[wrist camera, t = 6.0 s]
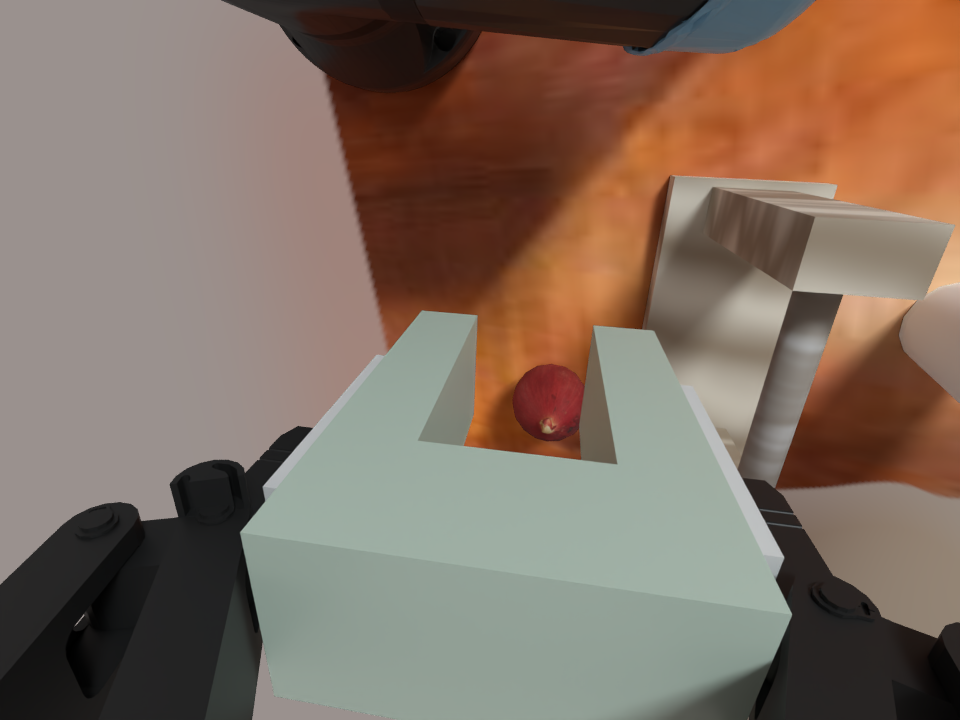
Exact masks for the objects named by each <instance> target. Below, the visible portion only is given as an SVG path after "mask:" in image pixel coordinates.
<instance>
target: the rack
mask: <svg viewBox="0 0 960 720" xmlns="http://www.w3.org/2000/svg"><path fill="white" fill-rule="evenodd" d="M836 188H837V185H835V184H828V183H813V182H793V181H773V180H753V179H733V178H713V177H693V176H673V175H671V176H670V181H669V186H668V192H667V197H666V203H665V208H664V213H663V219H662V224H661V230H660V235H659V240H658V246H657V251H656V256H655V262H654V267H653V273H652V278H651V283H650V289H649V294H648V300H647V305H646V310H645V316H644V321H643V327H642V330H652V331H654V332H655V334H656V336H657V338H658V340H659V342H660V344H661V346H662V348H663V350H664V352H665V355H666V357H667V359H668V361H669V363H670V365H671V367H672V369H673V371H674V373H675V375H676V377H677V379H678V381H679V383H680V385H687V386H693V388H694V390H695V392H696V393H697V395H698V397H699V399H700V401H701V403H702V405H703V407H704V408H705V410H706V412H707V414H708V416H709V418H710V420H711V421H712V423H713V425H714V427H715V429H716V431H717V433H718V435H719V436H720V438H721V440H722V442H723V444H724V446H725V448H726V450H727V451H728V453H729V455H730V457H731V459H732V461H733V463H734V464H735V466H736V468H737V470H738V472H739V474H740V476H741V478H748V479H757V480H765V481H766V482H767V483H769V484H770V485H771V486H772V487H773V488H775V487H776V484H777V481H778V478H779V475H780V472H781V470H782V467H783V464H784V461H785V458H786V455H787V453H788V450H789V447H790V444H791V441H792V438H793V436H794V433H795V430H796V427H797V424H798V421H799V419H800V416H801V413H802V410H803V407H804V404H805V402H806V399H807V396H808V393H809V390H810V387H811V385H812V382H813V379H814V376H815V373H816V370H817V368H818V365H819V362H820V359H821V356H822V353H823V351H824V348H825V345H826V342H827V339H828V336H829V333H830V331H831V328H832V325H833V322H834V319H835V316H836V314H837V311H838V308H839V305H840V302H841V299H842V297H843V295H856V296H869V297H883V298H896V299H909V300H924V298H925V296H926V293H927V291H928V288H929V286H930V284H931V281H932V279H933V277H934V274H935V272H936V270H937V267H938V265H939V262H940V260H941V258H942V255H943V253H944V251H945V248H946V246H947V244H948V241H949V239H950V237H951V234H952V232H953V229H954V227H955V225H953V224H948V223H943V222H939V221H934V220H929V219H924V218H920V217H915V216H910V215H905V214H901V213H896V212H891V211H886V210H881V209H877V208H872V207H867V206H862V205H858V204H853V203H848V202H843V201H839V200H834V199H833V198H834V195H835V191H836Z"/></svg>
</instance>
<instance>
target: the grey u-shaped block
mask: <svg viewBox="0 0 960 720" xmlns="http://www.w3.org/2000/svg"><path fill="white" fill-rule="evenodd" d="M477 318H478V315H468V314H456V313H445V312H433V311H421V312H420V314H419V315H418V316H417V317H416V319H415V320H414V321H413V322H412V323H411V325H410V326H409V327H408V328H407V330H406V331H405V332H404V333H403V334H402V336H401V337H400V338H399V339H398V340H397V342H396V343H395V344H394V345H393V347H392V348H391V349H390V350H389V351H388V353H387V354H386V355H385V356H384V358H383V359H382V360H381V361H380V362H379V364H378V365H377V366H376V367H375V369H374V370H373V371H372V372H371V373H370V375H369V376H368V377H367V378H366V380H365V381H364V382H363V383H362V384H361V386H360V387H359V388H358V389H357V391H356V392H355V393H354V394H353V395H352V397H351V398H350V399H349V400H348V401H347V403H346V404H345V405H344V406H343V408H342V409H341V410H340V411H339V412H338V414H337V415H336V416H335V417H334V419H333V420H332V421H331V422H330V423H329V425H328V426H327V427H326V428H325V430H324V431H323V432H322V433H321V434H320V436H319V437H318V438H317V439H316V441H315V442H314V443H313V444H312V445H311V447H310V448H309V449H308V450H307V452H306V453H305V454H304V455H303V456H302V458H301V459H300V460H299V461H298V462H297V464H296V465H295V466H294V467H293V469H292V470H291V471H290V472H289V473H288V475H287V476H286V477H285V478H284V480H283V481H282V482H281V483H280V484H279V486H278V487H277V488H276V489H275V491H274V492H273V493H272V494H271V495H270V497H269V498H268V499H267V500H266V502H265V503H264V504H263V505H262V506H261V508H260V509H259V510H258V511H257V513H256V514H255V515H254V516H253V517H252V519H251V520H250V521H249V522H248V523H247V525H246V526H245V527H244V528H243V530H242V531H241V532H240V535H241V539H242V544H243V549H244V554H245V558H246V563H247V568H248V573H249V577H250V582H251V587H252V592H253V597H254V601H255V606H256V611H257V616H258V620H259V625H260V630H261V635H262V640H263V644H264V649H265V654H266V658H267V663H268V668H269V673H270V678H271V682H272V687H273V692H274V696H277V697H281V698H287V699H292V700H297V701H302V702H308V703H313V704H318V705H324V706H329V707H334V708H340V709H345V710H350V711H355V712H360V713H365V714H371V715H376V716H381V717H387V718H392V719H397V720H747V719H748V717H749V715H750V712H751V710H752V708H753V705H754V703H755V701H756V698H757V696H758V694H759V691H760V689H761V687H762V684H763V682H764V680H765V677H766V675H767V673H768V670H769V668H770V666H771V663H772V661H773V659H774V656H775V654H776V652H777V649H778V647H779V645H780V642H781V640H782V638H783V635H784V633H785V631H786V628H787V626H788V624H789V621H790V619H791V617H792V613H791V611H790V609H789V607H788V605H787V603H786V601H785V599H784V597H783V595H782V593H781V590H780V588H779V586H778V584H777V582H776V580H775V578H774V576H773V574H772V572H771V570H770V568H769V566H768V564H767V562H766V560H765V558H764V556H763V554H762V552H761V549H760V547H759V545H758V543H757V541H756V539H755V537H754V535H753V533H752V531H751V529H750V527H749V525H748V523H747V521H746V519H745V517H744V515H743V513H742V510H741V508H740V506H739V504H738V502H737V500H736V498H735V496H734V494H733V492H732V490H731V488H730V486H729V484H728V482H727V480H726V478H725V476H724V474H723V471H722V469H721V467H720V465H719V463H718V461H717V459H716V457H715V455H714V453H713V451H712V449H711V447H710V445H709V443H708V441H707V439H706V437H705V435H704V433H703V430H702V428H701V426H700V424H699V422H698V420H697V418H696V416H695V414H694V412H693V410H692V408H691V406H690V404H689V402H688V400H687V398H686V396H685V394H684V391H683V389H682V387H681V385H680V383H679V381H678V379H677V377H676V375H675V373H674V371H673V369H672V367H671V365H670V363H669V361H668V359H667V357H666V355H665V352H664V350H663V348H662V346H661V344H660V342H659V340H658V338H657V336H656V334H655V332H654V331H652V330H640V329H629V328H617V327H606V326H594V325H593V332H592V339H591V346H590V353H589V360H588V367H587V374H586V381H585V388H584V395H583V402H582V409H581V416H580V423H579V431H580V447H581V460H575V459H567V458H558V457H550V456H542V455H533V454H525V453H517V452H508V451H500V450H491V449H483V448H475V447H466V446H464V443H465V440H466V437H467V434H468V430H469V427H470V424H471V421H472V418H473V415H474V394H475V369H476V343H477Z"/></svg>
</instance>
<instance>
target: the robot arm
mask: <svg viewBox="0 0 960 720" xmlns="http://www.w3.org/2000/svg"><path fill="white" fill-rule="evenodd" d="M222 1H224V2H227V3H229V4H231V5H234V6H236V7H239V8H241V9H243V10H246V11H248V12H251V13H253V14H256V15H258V16H260V17H263V18H265V19H268V20H270V21H273V22H275V23H278V24H279V25H280V26H281V28H282V29H283V31H284V32H285V34H286V35H287V37H288V38H289V39H290V40H291V42H292V43H293V44H294V45H295V47H296V48H297V49H298V50H299V51H300V52H301V53H302V54H303V55H304V56H305V57H306V58H307V59H308V60H310V62H312V63H313V64H314V65H315V66H317V67H318V68H319V69H321V70H322V71H324V72H325V73H327V74H328V75H330V76H332V77H333V78H335V79H337V80H339V81H342V82H344V83H346V84H349V85H352V86H355V87H359V88H362V89H366V90H370V91H375V92H384V93H396V92H404V91H410V90H413V89H417V88H420V87H422V86H425V85H427V84H429V83H431V82H433V81H435V80H437V79H438V78H440V77H442V76H443V75H444V74H446V73H447V72H448V71H450V70H451V69H452V68H453V67H454V66H455V65H456V64H457V63H458V62H459V61H460V60H461V59H462V58H463V57H464V56H465V55H466V54H467V52H468V51H469V50H470V48H471V47H472V46H473V44H474V43H475V41H476V39H477V38H478V36H479V34H480V33H481V31H485V32H494V33H504V34H513V35H522V36H532V37H541V38H551V39H560V40H570V41H579V42H589V43H598V44H608V45H617V46H623V48H624V50H625V51H626V52H627V53H630V54H633V55H639V56H645V55H649V54H654V53H660V52H662V51H680V52H697V53H715V54H721V53H729V52H735V51H738V50H740V49H743V48H744V47H747V46H750V45H754V44H756V43H758V42H759V41H762V40H765V39H767V38H769V37H771V36H773V35H774V34H776V33H777V32H779V31H780V30H781V29H783V28H784V27H786V26H787V25H788V24H789V23H791V22H792V21H793V20H794V19H796V18H797V17H798V16H799V15H801V14H802V13H803V12H804V11H805V10H806V9H807V8H808V7H809V6H811V5H812V4H813V3H814V2H815V1H816V0H222ZM383 358H384V356H382V355H376V356H375V357H374V358H373V360H372V361H371V362H370V363H369V364H368V365H367V366H366V368H365V369H364V370H363V371H362V372H361V374H360V375H359V376H358V377H357V378H356V379H355V380H354V382H353V383H352V384H351V385H350V386H349V387H348V388H347V390H346V391H345V392H344V393H343V394H342V395H341V397H340V398H339V399H338V400H337V401H336V402H335V404H334V405H333V406H332V407H331V408H330V409H329V410H328V412H327V413H326V414H325V415H324V416H323V417H322V419H321V420H320V421H319V422H318V423H317V424H316V426H315V427H314V428H309V427H301V426H297V427H296V428H294V429H292V430H290V431H288V432H287V433H285V434H283V435H281V436H280V437H279V438H278V439H277V440H276V441H275V442H274V443H273V444H272V445H271V446H270V448H269V450H267V451H266V452H265V453H264V454H263V455H262V456H261V457H260V460H257V461H256V462H255V463H254V464H253V465H252V466H251V467H250V469H249V470H248V471H247V472H246V473H245V472H244V468H243V467H242V466H241V465H240V464H239V463H237V462H234V461H230V460H212V461H207V462H203V463H199V464H197V465H194V466H192V467H189V468H187V469H186V470H184V471H183V472H181V473H180V474H179V475H177V476H176V477H175V478H174V479H173V481H172V482H171V483H170V488H171V491H172V495H173V498H174V502H175V506H176V510H177V513H178V517H177V518H168V519H159V520H149V521H141V519H140V516H139V513H138V509H136V508H135V507H134V506H133V505H131V504H127V503H121V502H118V503H107V504H103V505H99V506H95V507H93V508H90V509H88V510H86V511H84V512H81V513H79V514H77V515H75V516H74V517H72V518H71V519H70V520H68V521H67V522H66V523H65V524H63V525H62V526H61V527H60V528H59V529H58V530H57V531H56V532H55V533H54V534H53V535H52V536H51V537H49V538H48V539H47V540H46V541H45V542H44V543H43V544H42V545H41V546H40V547H39V548H38V549H37V550H36V551H35V552H34V553H33V554H32V555H31V556H30V557H29V558H28V559H27V560H26V561H24V563H22V564H21V565H20V567H18V568H17V569H16V570H15V571H14V572H13V573H12V574H11V575H10V576H9V577H8V578H7V579H6V580H5V581H4V582H3V583H2V584H1V585H0V720H252V716H253V708H254V701H255V694H256V686H257V679H258V672H259V665H260V658H261V650H262V643H263V640H262V635H261V630H260V625H259V620H258V616H257V611H256V606H255V601H254V597H253V592H252V587H251V582H250V577H249V573H248V568H247V563H246V558H245V554H244V549H243V544H242V539H241V535H240V532H241V531H242V530H243V528H244V527H245V526H246V525H247V523H248V522H249V521H250V520H251V519H252V517H253V516H254V515H255V514H256V513H257V511H258V510H259V509H260V508H261V506H262V505H263V504H264V503H265V502H266V500H267V499H268V498H269V497H270V495H271V494H272V493H273V492H274V491H275V489H276V488H277V487H278V486H279V484H280V483H281V482H282V481H283V480H284V478H285V477H286V476H287V475H288V473H289V472H290V471H291V470H292V469H293V467H294V466H295V465H296V464H297V462H298V461H299V460H300V459H301V458H302V456H303V455H304V454H305V453H306V452H307V450H308V449H309V448H310V447H311V445H312V444H313V443H314V442H315V441H316V439H317V438H318V437H319V436H320V434H321V433H322V432H323V431H324V430H325V428H326V427H327V426H328V425H329V423H330V422H331V421H332V420H333V419H334V417H335V416H336V415H337V414H338V412H339V411H340V410H341V409H342V408H343V406H344V405H345V404H346V403H347V401H348V400H349V399H350V398H351V397H352V395H353V394H354V393H355V392H356V391H357V389H358V388H359V387H360V386H361V384H362V383H363V382H364V381H365V380H366V378H367V377H368V376H369V375H370V373H371V372H372V371H373V370H374V369H375V367H376V366H377V365H378V364H379V362H380V361H381V360H382V359H383ZM681 387H682V389H683V391H684V394H685V396H686V398H687V400H688V402H689V404H690V406H691V408H692V410H693V412H694V414H695V416H696V418H697V420H698V422H699V424H700V426H701V428H702V430H703V433H704V435H705V437H706V439H707V441H708V443H709V445H710V447H711V449H712V451H713V453H714V455H715V457H716V459H717V461H718V463H719V465H720V467H721V469H722V471H723V474H724V476H725V478H726V480H727V482H728V484H729V486H730V488H731V490H732V492H733V494H734V496H735V498H736V500H737V502H738V504H739V506H740V508H741V510H742V513H743V515H744V517H745V519H746V521H747V523H748V525H749V527H750V529H751V531H752V533H753V535H754V537H755V539H756V541H757V543H758V545H759V547H760V549H761V552H762V554H763V556H764V558H765V560H766V562H767V564H768V566H769V568H770V570H771V572H772V574H773V576H774V578H775V580H776V582H777V584H778V586H779V588H780V590H781V593H782V595H783V597H784V599H785V601H786V603H787V605H788V607H789V609H790V611H791V613H792V617H791V619H790V621H789V624H788V626H787V628H786V631H785V633H784V635H783V638H782V640H781V642H780V645H779V647H778V649H777V652H776V654H775V656H774V659H773V661H772V663H771V666H770V668H769V670H768V673H767V675H766V677H765V680H764V682H763V684H762V687H761V689H760V691H759V694H758V696H757V698H756V701H755V703H754V705H753V708H752V710H751V712H750V715H749V720H960V623H958V622H956V623H953V624H949V625H946V626H945V627H944V629H943V630H942V632H941V634H940V635H939V637H938V638H935V637H932V636H930V635H927V634H924V633H921V632H919V631H916V630H913V629H910V628H908V627H905V626H902V625H899V624H897V623H894V622H892V621H890V620H887V619H885V618H882V617H881V615H880V612H879V610H878V608H877V607H876V606H875V605H874V604H873V603H872V602H871V600H870V599H869V598H868V597H867V596H866V595H865V594H863V593H862V592H861V591H859V590H858V589H857V588H855V587H854V586H853V585H851V584H849V583H847V582H845V581H843V580H841V579H839V578H837V577H834V576H833V575H832V573H831V572H830V570H829V568H828V567H827V565H826V564H825V562H824V560H823V559H822V557H821V556H820V554H819V552H818V551H817V549H816V548H815V546H814V544H813V543H812V541H811V540H810V538H809V536H808V535H807V534H806V532H805V530H804V529H802V525H801V524H800V522H799V521H798V519H797V517H796V516H795V515H793V511H792V509H791V508H790V506H789V505H788V503H787V501H786V500H785V498H784V496H783V495H782V494H780V493H779V492H778V491H777V490H776V489H775V488H773V487H772V486H771V485H770V484H769V483H767V482H766V481H765V480H757V479H748V478H741V476H740V474H739V472H738V470H737V468H736V466H735V464H734V463H733V461H732V459H731V457H730V455H729V453H728V451H727V450H726V448H725V446H724V444H723V442H722V440H721V438H720V436H719V435H718V433H717V431H716V429H715V427H714V425H713V423H712V421H711V420H710V418H709V416H708V414H707V412H706V410H705V408H704V407H703V405H702V403H701V401H700V399H699V397H698V395H697V393H696V392H695V390H694V388H693V386H687V385H681ZM83 614H84V615H85V616H84V617H83V618H82V619H81V621H80V622H79V623H78V624H77V625H76V626H75V624H76V623H77V622H78V621H79V619H80V618H81V617H82V616H83ZM74 626H75V627H74Z"/></svg>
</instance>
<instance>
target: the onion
mask: <svg viewBox="0 0 960 720" xmlns="http://www.w3.org/2000/svg"><path fill="white" fill-rule="evenodd" d="M584 388H585V386H584V385H583V383H582V382H581V380H580V379H579V378H578V376H577V375H576V374H575V373H574V372H572V371H571V370H569V369H568V368H566V367H563V366H558V365H553V364H548V365H541V366H537V367H535V368H533V369H531V370H530V371H528V372H526V373H525V374H524V376H523V377H522V378H521V379H520V381H519V382H518V384H517V386H516V388H515V392H514V396H513V408H514V413H515V417H516V419H517V421H518V422H519V423H520V425H521V426H522V428H523V429H524V430H525V431H526V432H528V433H529V434H531V435H532V436H534V437H535V438H537V439H541V440H544V441H560V440H562V439H564V438H566V437H569V436H571V435H573V434H574V433H575V432H576V431H577V430H578V429H579V423H580V416H581V409H582V402H583V395H584Z"/></svg>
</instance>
